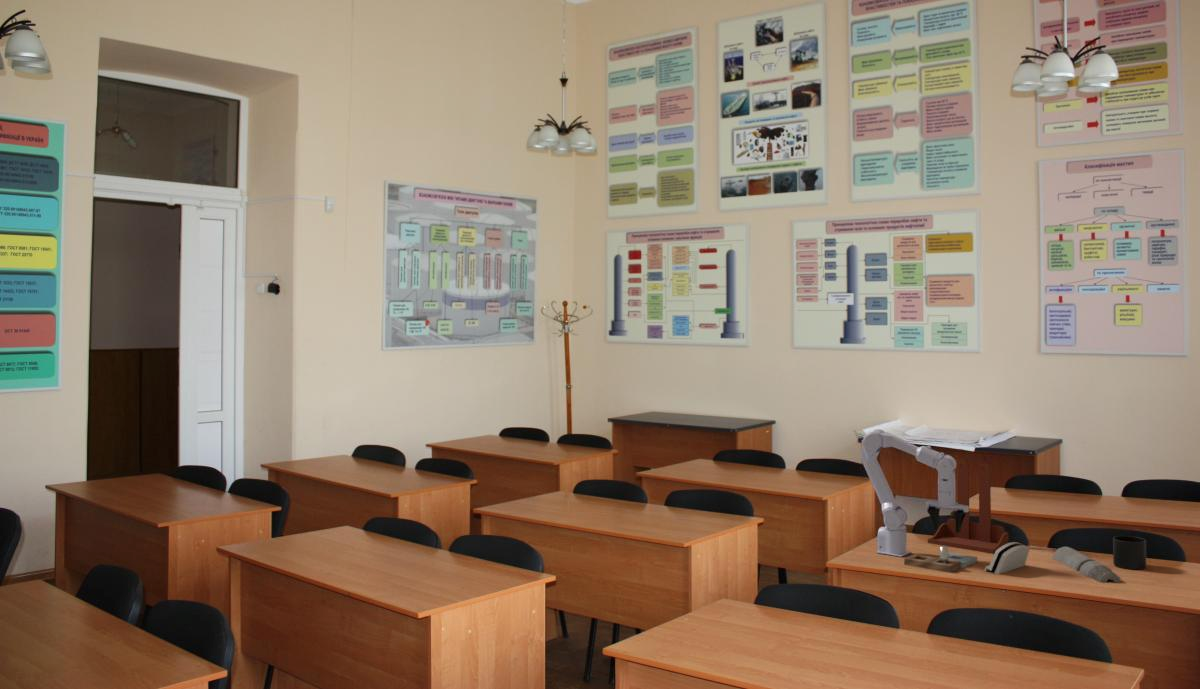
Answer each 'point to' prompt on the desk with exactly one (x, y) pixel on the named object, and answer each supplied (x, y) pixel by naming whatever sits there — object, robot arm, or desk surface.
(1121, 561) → the mug
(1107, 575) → the grey elongated piece
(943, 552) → the peg
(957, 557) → the socket block
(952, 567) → the rack
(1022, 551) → the grey arched plastic casing
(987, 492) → the hanging shelf
